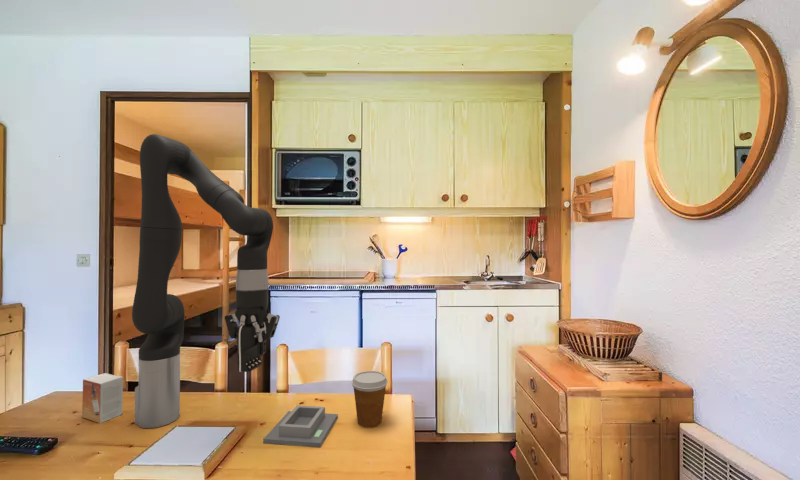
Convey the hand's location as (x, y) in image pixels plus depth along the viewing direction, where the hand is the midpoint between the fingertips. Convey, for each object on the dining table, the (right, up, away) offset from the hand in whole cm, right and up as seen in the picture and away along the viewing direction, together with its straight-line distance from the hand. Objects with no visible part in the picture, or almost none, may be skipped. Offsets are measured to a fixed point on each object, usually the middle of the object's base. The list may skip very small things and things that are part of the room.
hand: (252, 355), depth 89 cm
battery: (0, -4, 0) cm, 4 cm away
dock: (+12, -19, +1) cm, 23 cm away
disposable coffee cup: (+29, -20, +5) cm, 35 cm away
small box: (-44, -19, +8) cm, 49 cm away
